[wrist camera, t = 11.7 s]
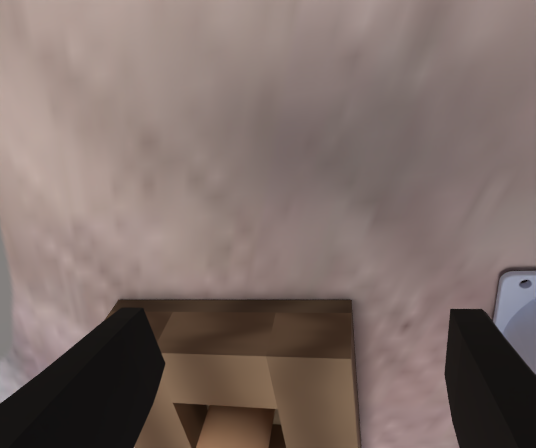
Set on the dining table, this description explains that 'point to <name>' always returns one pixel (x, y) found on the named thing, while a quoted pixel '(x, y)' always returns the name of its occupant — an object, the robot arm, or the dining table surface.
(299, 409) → the socket block
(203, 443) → the peg
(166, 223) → the dining table surface
